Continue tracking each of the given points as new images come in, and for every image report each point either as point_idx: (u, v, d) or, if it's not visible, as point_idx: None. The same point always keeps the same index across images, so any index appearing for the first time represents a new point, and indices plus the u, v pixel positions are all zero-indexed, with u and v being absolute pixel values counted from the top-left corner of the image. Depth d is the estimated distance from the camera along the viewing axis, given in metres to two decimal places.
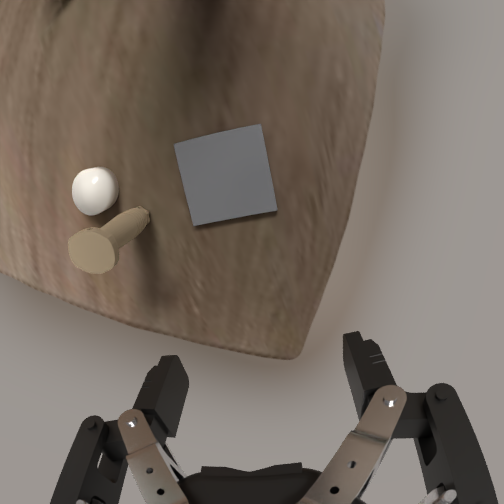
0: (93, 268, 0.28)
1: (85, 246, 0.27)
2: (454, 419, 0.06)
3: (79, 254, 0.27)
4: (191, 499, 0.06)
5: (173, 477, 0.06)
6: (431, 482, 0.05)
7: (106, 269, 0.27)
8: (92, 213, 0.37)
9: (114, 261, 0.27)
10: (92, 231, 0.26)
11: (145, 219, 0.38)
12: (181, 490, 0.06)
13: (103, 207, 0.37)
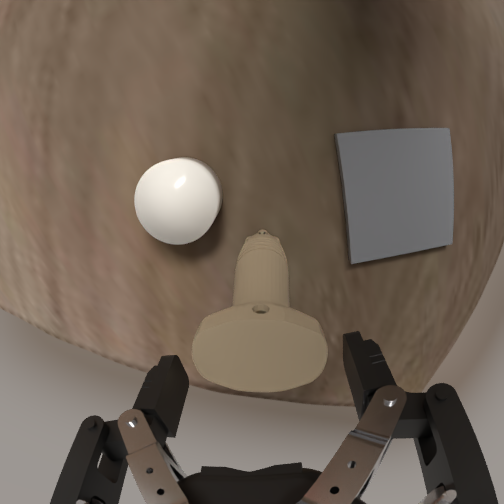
0: (259, 384, 0.13)
1: (248, 348, 0.12)
2: (454, 419, 0.06)
3: (226, 361, 0.13)
4: (191, 499, 0.06)
5: (173, 477, 0.06)
6: (431, 482, 0.05)
7: (294, 385, 0.13)
8: (178, 241, 0.23)
9: (320, 371, 0.13)
10: (279, 319, 0.12)
11: None
12: (181, 490, 0.06)
13: (203, 232, 0.23)
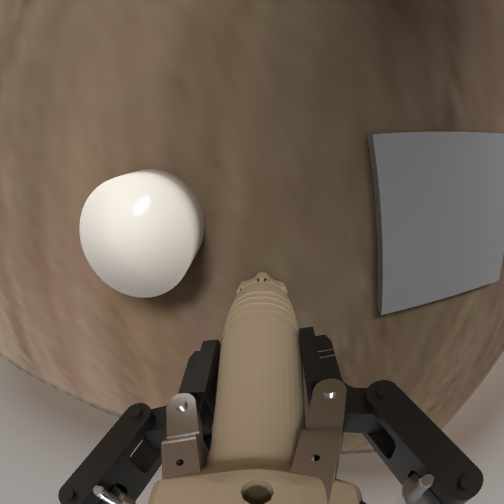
0: None
1: None
2: (403, 411, 0.07)
3: None
4: None
5: None
6: (400, 472, 0.06)
7: None
8: (141, 293, 0.16)
9: None
10: None
11: None
12: None
13: (174, 282, 0.15)
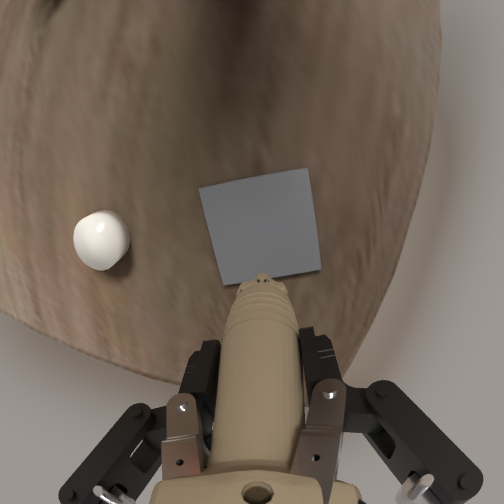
0: None
1: None
2: (403, 411, 0.07)
3: None
4: None
5: None
6: (400, 472, 0.06)
7: None
8: (100, 268, 0.32)
9: None
10: None
11: None
12: None
13: (113, 262, 0.32)
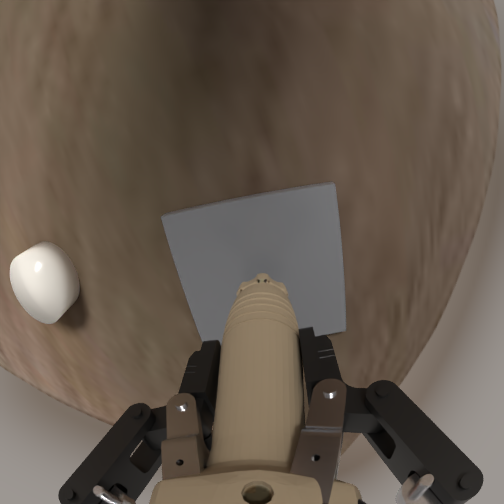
0: None
1: None
2: (403, 411, 0.07)
3: None
4: None
5: None
6: (400, 472, 0.06)
7: None
8: (44, 321, 0.21)
9: None
10: None
11: None
12: None
13: (57, 316, 0.20)
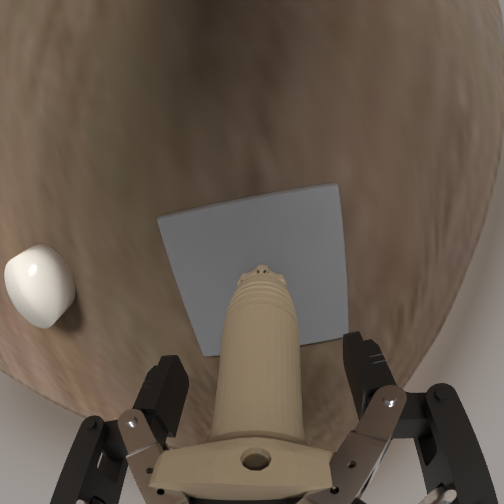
0: None
1: None
2: (454, 419, 0.06)
3: None
4: (191, 499, 0.06)
5: None
6: (431, 482, 0.05)
7: None
8: (40, 325, 0.20)
9: None
10: (287, 481, 0.05)
11: None
12: None
13: (52, 321, 0.20)
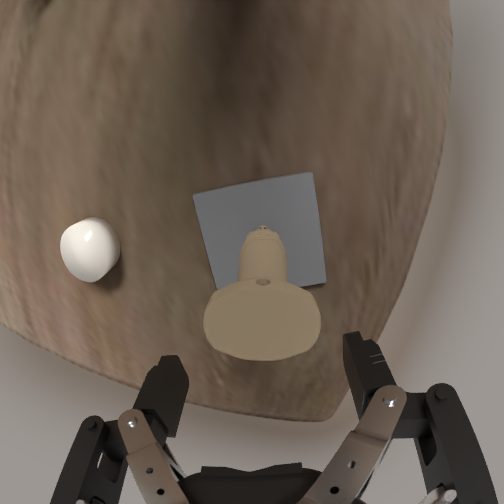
0: (261, 352, 0.16)
1: (252, 317, 0.15)
2: (454, 419, 0.06)
3: (233, 330, 0.15)
4: (191, 499, 0.06)
5: (173, 477, 0.06)
6: (431, 482, 0.05)
7: (292, 353, 0.16)
8: (88, 280, 0.29)
9: (315, 340, 0.15)
10: (278, 289, 0.14)
11: None
12: (181, 490, 0.06)
13: (102, 274, 0.29)
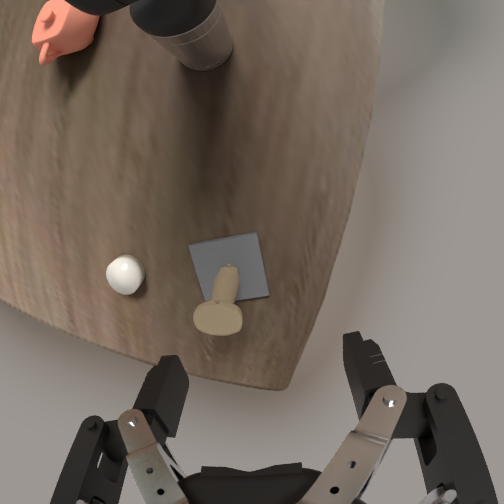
0: (218, 331, 0.37)
1: (213, 316, 0.36)
2: (454, 419, 0.06)
3: (205, 321, 0.36)
4: (191, 499, 0.06)
5: (173, 477, 0.06)
6: (431, 482, 0.05)
7: (232, 332, 0.37)
8: (125, 293, 0.50)
9: None
10: (222, 305, 0.35)
11: (238, 277, 0.47)
12: (181, 490, 0.06)
13: (134, 290, 0.50)
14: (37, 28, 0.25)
